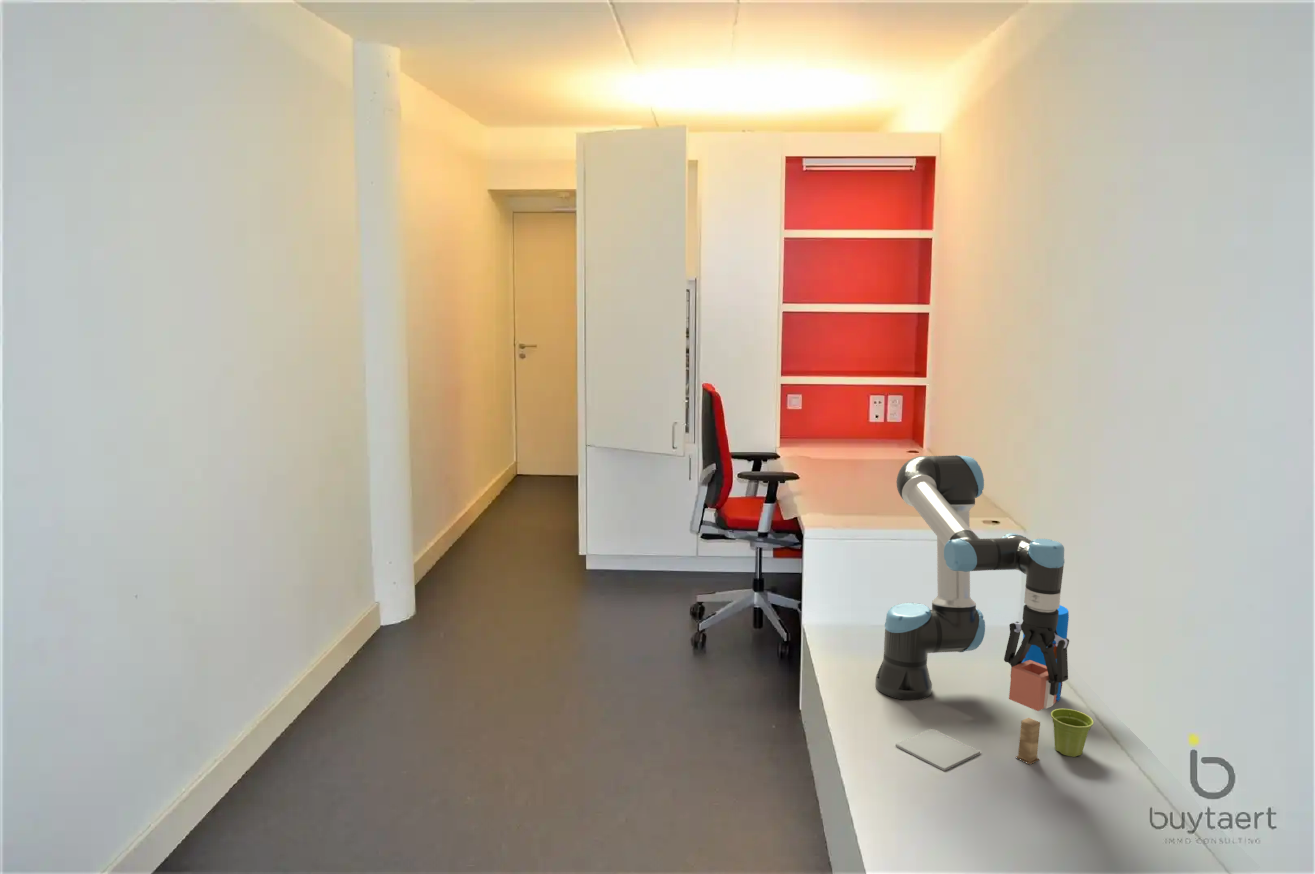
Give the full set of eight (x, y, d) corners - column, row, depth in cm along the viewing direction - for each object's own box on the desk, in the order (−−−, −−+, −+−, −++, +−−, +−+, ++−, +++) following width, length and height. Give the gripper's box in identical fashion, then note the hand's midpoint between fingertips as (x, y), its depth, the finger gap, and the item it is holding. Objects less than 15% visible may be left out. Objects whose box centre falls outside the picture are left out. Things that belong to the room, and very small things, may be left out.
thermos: (1011, 686, 258) (1018, 601, 254) (1048, 686, 259) (1056, 600, 255) (1030, 704, 248) (1038, 615, 244) (1068, 703, 248) (1077, 614, 244)
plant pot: (1087, 745, 226) (1091, 712, 224) (1091, 763, 217) (1095, 729, 215) (1046, 738, 229) (1049, 705, 227) (1048, 756, 220) (1052, 722, 218)
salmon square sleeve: (1008, 698, 217) (1011, 666, 216) (1026, 691, 221) (1029, 659, 220) (1037, 711, 211) (1041, 678, 210) (1055, 702, 216) (1058, 670, 214)
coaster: (895, 746, 223) (895, 743, 223) (931, 730, 232) (931, 728, 232) (944, 770, 212) (944, 768, 212) (980, 753, 221) (980, 751, 220)
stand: (1015, 757, 219) (1018, 720, 217) (1024, 753, 221) (1027, 716, 220) (1030, 764, 216) (1033, 726, 214) (1039, 760, 218) (1042, 722, 217)
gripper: (992, 597, 218) (984, 687, 222) (1074, 623, 202) (1064, 721, 206) (1010, 591, 222) (1002, 680, 226) (1092, 616, 207) (1082, 712, 210)
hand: (1032, 699), depth 216 cm, fingers closed on salmon square sleeve, 7 cm apart
